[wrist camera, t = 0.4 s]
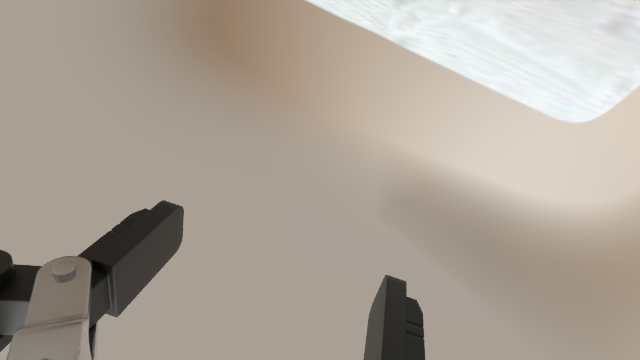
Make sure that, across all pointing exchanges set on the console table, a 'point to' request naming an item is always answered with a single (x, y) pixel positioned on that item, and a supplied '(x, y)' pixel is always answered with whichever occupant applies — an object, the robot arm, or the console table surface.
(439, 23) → the console table surface
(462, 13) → the console table surface
